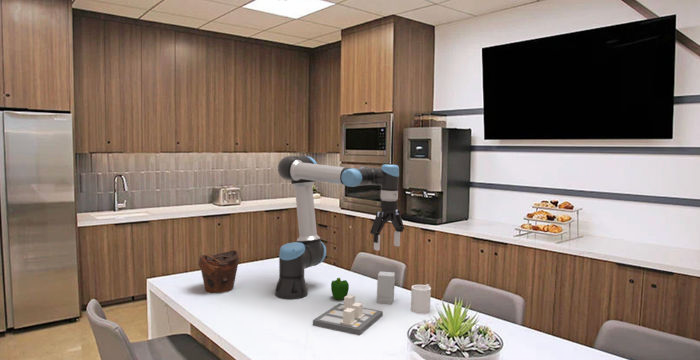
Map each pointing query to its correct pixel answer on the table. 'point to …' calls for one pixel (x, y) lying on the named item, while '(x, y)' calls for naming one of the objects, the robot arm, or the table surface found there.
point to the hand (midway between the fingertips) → (386, 248)
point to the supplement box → (385, 287)
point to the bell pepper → (339, 288)
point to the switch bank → (335, 316)
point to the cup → (420, 298)
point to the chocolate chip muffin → (219, 271)
